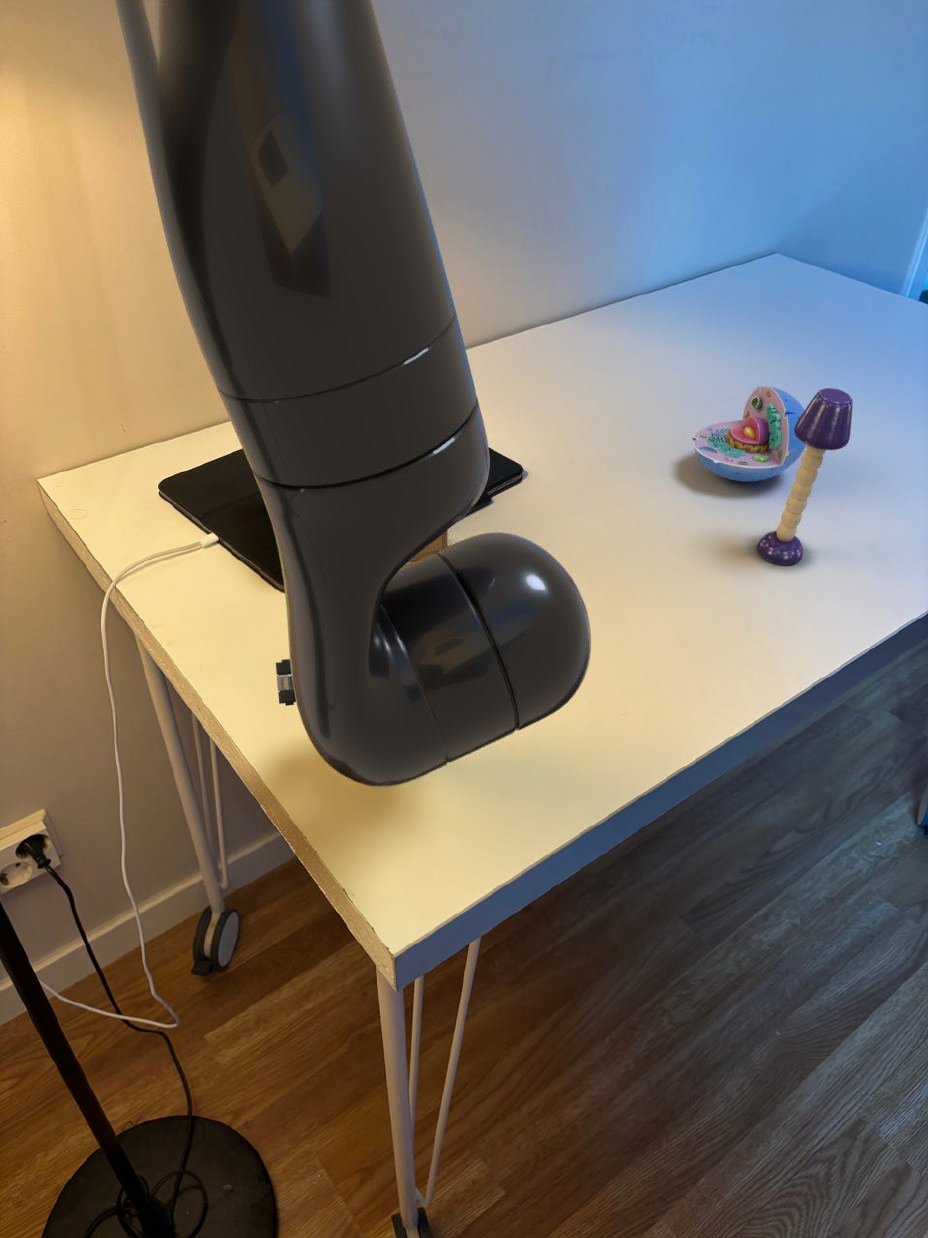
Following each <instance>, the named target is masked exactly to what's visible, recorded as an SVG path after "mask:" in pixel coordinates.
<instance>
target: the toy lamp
mask: <svg viewBox="0 0 928 1238" xmlns="http://www.w3.org/2000/svg"><path fill="white" fill-rule="evenodd" d="M804 409H805V411H804V412H803V414H802V415H801V417H800V418H799V420H798V421H797V423H796V425H795V428H794V432H795V435H796V437H797V438H798V439H799V440H800V441H802V442H803V443H805V444H806V448H805V450H804V452H803V453H802V455H801V460H800V461H801V462H800V464H801V465H799V467H798V468H797V470H796V474H795V480H793V483H792V484H791V488H790V494H789V495H788V497H787V499H786V502H785V508H784V510H783V511H782V513H781V516H780V522H779V523H778V525H777V527H776V530H773V531H770V532H767V533H765V534H764V535H763V536H762V537H761V538H760V539H759V541H758V543H757V546H756V550H757V552H758V554H759V555H760V556H761V557H762V558H764V559H765V560H766V561H768V562H771V563H773V564H776V565H780V566H793V565H795V564H798V563H799V562H801V560H802V559H803V555H804V549H803V545H802V542H801V540H800V539H799V538H798V537H797V536H796V535H797V531H798V529H797V528H798V526H799V525H800V523H801V520H802V518H803V512H804V511H805V510H806V507H807V506H808V498H809V497H810V496H811V494H812V491H813V484H814V483H815V481H816V480H817V478H818V473H819V471H818V470H819V469H820V468H821V466H822V464H823V460H824V454H825V453H826V452H827V451H837V450H840V449H842V448H845V447H846V446H847V445H848V444H849V442H850V438H851V429H852V418H853V398H852V396H851V395H850V394H849V393H847V392H846V391H844V390H841V389H838V388H833V387H832V388H831V387H825V388H822V389H820V390H818V391H817V392H816V393H815V395H814V396H813V398H812V399H811V401H810V402H809V403H808V405H807V406H806V408H804Z"/></svg>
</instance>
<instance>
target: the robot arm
mask: <svg viewBox="0 0 928 1238" xmlns="http://www.w3.org/2000/svg"><path fill="white" fill-rule="evenodd" d="M114 2H115V6H116V11H117V15H118V20H119V24H120V28H121V32H122V37H123V41H124V45H125V50H126V54H127V58H128V64H129V69H130V75H131V79H132V84H133V89H134V94H135V99H136V104H137V109H138V114H139V120H140V124H141V125H140V126H141V130H142V135H143V140H144V144H145V149H146V153H147V154H146V156H147V159H148V165H149V169H150V175H151V179H152V184H153V189H154V193H155V197H156V202H157V207H158V211H159V215H160V220H161V224H162V228H163V233H164V237H165V241H166V245H167V249H168V253H169V257H170V261H171V264H172V268H173V272H174V276H175V278H176V279H175V280H176V282H177V285H178V289H179V292H180V295H181V298H182V302H183V305H184V307H185V311H186V314H187V317H188V320H189V322H190V325H191V328H192V330H193V334H194V336H195V339H196V341H197V344H198V347H199V350H200V352H201V354H202V357H203V360H204V361H205V364H206V366H207V369H208V371H209V373H210V376H211V378H212V381H213V383H214V385H215V388H216V389H217V392H218V394H219V397H220V399H221V401H222V404H223V406H224V408H225V411H226V413H227V416H228V418H229V420H230V422H231V425H232V427H233V430H234V432H235V434H236V436H237V439H238V441H239V444H240V446H241V449H242V451H243V453H244V455H245V457H246V460H247V462H248V464H249V466H250V468H251V471H252V475H253V477H254V479H255V482H256V484H257V486H258V489H259V492H260V494H261V497H262V499H263V503H264V505H265V508H266V511H267V514H268V517H269V520H270V524H271V527H272V530H273V534H274V538H275V543H276V546H277V547H276V548H277V552H278V556H279V562H280V568H281V573H282V578H283V587H284V596H285V606H286V620H287V622H286V623H287V635H288V636H287V637H288V651H289V653H288V654H289V658H285V659H281V661H279V662H275V673H276V683H277V684H276V685H277V686H276V687H277V691H278V695H277V696H278V704H280V705H281V704H282V705H283V704H285V707H286V706H288V707H289V706H295V703H296V707H297V711H298V713H299V717H300V720H301V723H302V726H303V728H304V730H305V732H306V735H307V736H308V739H309V741H310V742H311V744H312V746H313V747H314V749H315V750H316V752H317V753H318V755H319V756H320V757H321V758H322V760H324V761H325V762H326V764H327V765H329V767H330V768H331V769H333V770H334V771H336V772H337V773H338V774H340V775H342V776H343V777H346V779H349V780H350V781H352V782H354V783H358V784H361V785H364V786H366V787H372V788H379V789H387V788H388V789H389V788H394V787H398V786H402V785H404V784H408V783H411V782H414V781H416V780H418V779H420V778H423V777H424V776H428V775H429V774H431V773H433V772H436V771H437V770H439V769H442V768H443V767H446V766H447V765H448V764H451V763H453V762H456V761H457V760H459V759H462V758H464V757H466V756H468V755H470V754H472V753H474V752H477V751H479V750H482V749H483V748H485V747H487V746H490V745H492V744H494V743H496V742H498V741H500V740H503V739H504V738H506V737H509V736H511V735H513V734H514V733H515V732H518V731H522V730H523V729H525V728H528V727H530V726H533V725H534V724H536V723H538V722H540V721H542V720H544V719H546V718H548V717H550V716H551V715H553V714H555V713H556V712H558V711H559V710H561V709H562V708H563V707H565V706H566V705H567V704H568V703H569V702H570V701H571V700H572V699H573V698H574V696H575V695H576V693H578V691H579V689H580V688H581V686H582V684H583V682H584V680H585V678H586V675H587V674H588V673H587V672H588V670H589V666H590V662H591V661H590V660H591V655H592V654H591V653H592V633H591V631H592V630H591V623H590V618H589V613H588V609H587V607H586V604H585V601H584V599H583V597H582V594H581V592H580V589H579V588H578V585H577V584H576V583H575V580H574V579H573V577H572V576H571V575H570V574H569V572H568V571H567V569H566V568H565V567H564V566H563V565H562V564H561V562H560V561H559V560H557V559H556V557H554V556H553V555H552V554H551V553H550V552H549V551H548V550H546V549H544V548H543V547H542V546H541V545H539V544H537V543H535V542H534V541H533V540H529V539H528V538H525V537H523V536H520V535H517V534H512V533H507V532H486V533H481V534H477V535H474V536H471V537H468V538H465V539H462V540H459V541H458V542H454V543H452V544H451V545H447V547H446V548H443V549H441V550H439V551H437V552H436V554H430V555H428V556H425V557H423V558H421V559H418V560H414V561H410V562H408V561H409V560H410V559H411V558H413V557H414V556H415V555H416V554H418V553H419V552H420V551H421V550H423V549H424V548H425V547H427V546H428V545H429V544H431V543H432V542H433V541H435V540H436V539H437V538H438V537H440V536H441V535H442V534H443V533H445V532H446V531H447V530H449V529H451V528H452V527H453V526H454V525H456V524H457V523H458V522H459V521H460V520H462V519H463V518H464V517H465V516H466V515H467V514H468V513H469V512H470V511H471V509H472V508H473V507H474V506H475V505H476V504H477V502H478V501H479V499H480V497H481V496H482V494H483V493H484V491H485V488H486V485H487V483H488V479H489V474H490V468H491V459H490V449H489V441H488V440H489V439H488V436H487V435H488V434H487V431H486V427H485V422H484V418H483V414H482V411H481V408H480V406H481V405H480V402H479V399H478V396H477V391H476V385H475V383H474V382H475V381H474V377H473V374H472V369H471V367H470V362H469V357H468V354H467V350H466V346H465V341H464V338H463V334H462V329H461V326H460V323H459V318H458V314H457V310H456V305H455V302H454V298H453V294H452V291H451V287H450V282H449V279H448V276H447V272H446V268H445V265H444V260H443V257H442V253H441V249H440V246H439V242H438V238H437V235H436V230H435V227H434V223H433V219H432V216H431V212H430V209H429V204H428V201H427V198H426V194H425V190H424V187H423V183H422V179H421V176H420V173H419V168H418V165H417V162H416V158H415V155H414V150H413V147H412V144H411V143H412V142H411V140H410V137H409V133H408V129H407V125H406V122H405V118H404V114H403V111H402V108H401V104H400V101H399V97H398V93H397V89H396V85H395V83H394V79H393V75H392V71H391V68H390V64H389V61H388V57H387V54H386V50H385V46H384V41H383V38H382V34H381V31H380V27H379V24H378V19H377V16H376V12H375V9H374V3H373V0H114Z"/></svg>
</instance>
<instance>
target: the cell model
mask: <svg viewBox="0 0 928 1238" xmlns="http://www.w3.org/2000/svg"><path fill="white" fill-rule="evenodd" d="M805 409H806V408H804V406H803V405H802V404H801V402H800V401H799V400H798V399H796V398H795V396H793V395H792V394H790V393H789V392H787V391H785V390H783V389H781V388H778V387H775V386H771V385H770V386H769V385H758V386H757V387H755V388H754V390H753V391H752V392H751V393H750V395H749V396H748V398H747V400H746V402H745V404H744V409H743V413H742V419H738V420H737V419H735V420H725V421H718V422H713V423H710V424H707V425H705V426H702V427H701V428H700V429H698V430H696V431H695V432H694V433H693V434H692V437H691V438H692V439H691V440H692V441H691V442H692V447H693V450H694V452H695V454H696V457H697V459H698V460H699V462H700V463H701V464H702V465H703V466H704V467H705V469H707V470H708V471H710V472H712V473H714V474H715V475H717V476H719V477H720V478H724V479H727V480H730V481H735V482H741V483H742V482H744V483H752V482H753V483H755V482H760V481H765V480H768V479H771V478H774V477H775V476H777V475H780V474H782V473H783V472H785V471H786V470H788V469H789V468H790V467H791V466H793V465H794V464H795V463H796V462H797V461H798V460H799V458H800V457H802V455H803V454H804V452H805V451H806V444H805V443H803V442H802V441H800V440H799V439H798V438H797V437H796V435H795V432H794V428H795V425H796V423H797V421H798V420H799V418H800V417H801V415H802V414H803V412H804V411H805Z"/></svg>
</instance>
